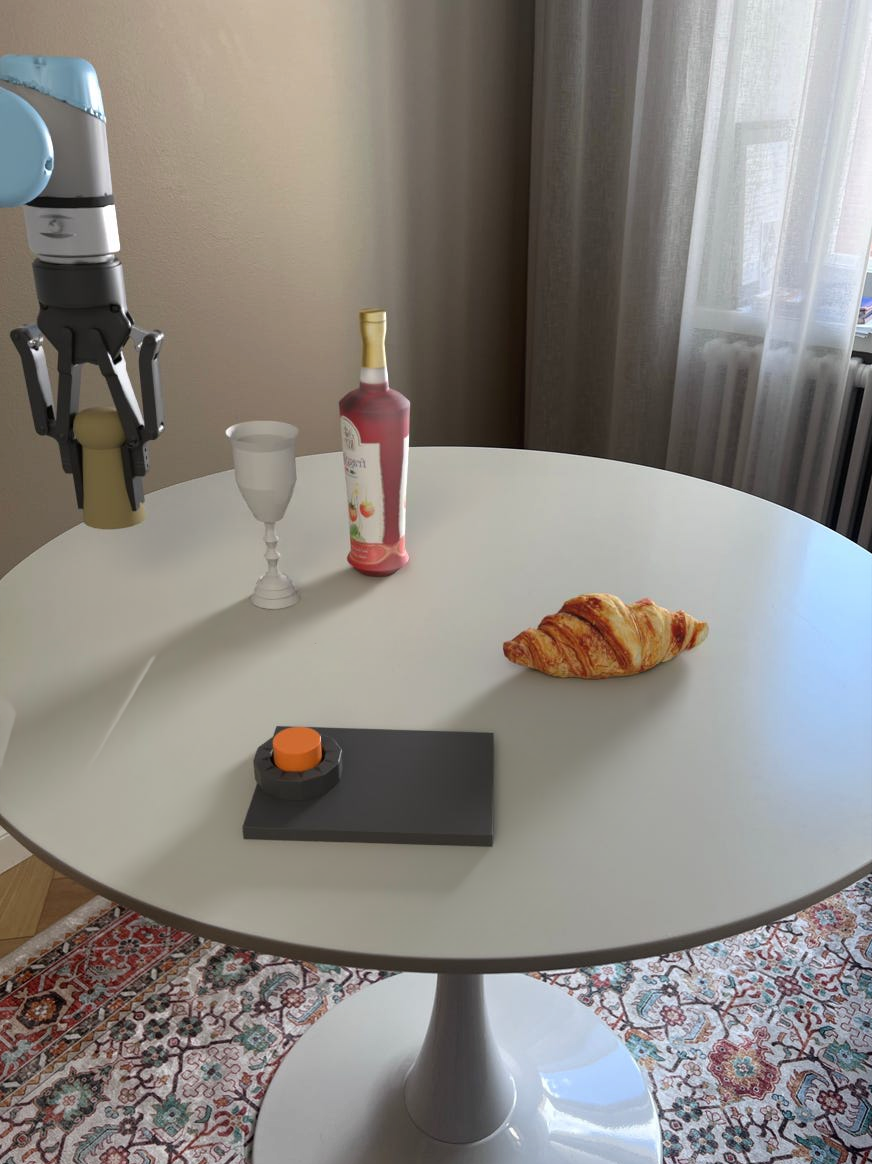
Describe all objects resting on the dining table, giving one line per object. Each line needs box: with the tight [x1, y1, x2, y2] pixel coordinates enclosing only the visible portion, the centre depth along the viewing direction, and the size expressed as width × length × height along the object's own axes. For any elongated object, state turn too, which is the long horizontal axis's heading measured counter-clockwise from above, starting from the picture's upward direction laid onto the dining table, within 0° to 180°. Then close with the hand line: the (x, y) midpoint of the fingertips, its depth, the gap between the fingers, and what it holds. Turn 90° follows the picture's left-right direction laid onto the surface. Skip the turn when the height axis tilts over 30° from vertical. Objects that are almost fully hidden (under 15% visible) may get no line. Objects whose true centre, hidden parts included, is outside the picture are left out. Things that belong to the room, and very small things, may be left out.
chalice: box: [225, 420, 301, 610], centre depth 103 cm, size 7×7×18 cm
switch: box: [273, 726, 322, 772], centre depth 78 cm, size 4×4×2 cm
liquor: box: [338, 307, 411, 578], centre depth 108 cm, size 7×7×28 cm
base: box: [241, 725, 494, 848], centre depth 79 cm, size 18×13×3 cm
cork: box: [73, 406, 147, 530], centre depth 99 cm, size 6×6×11 cm
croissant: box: [502, 592, 710, 680], centre depth 97 cm, size 21×10×8 cm, turn 109°
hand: (111, 504), depth 101 cm, fingers closed on cork, 4 cm apart
